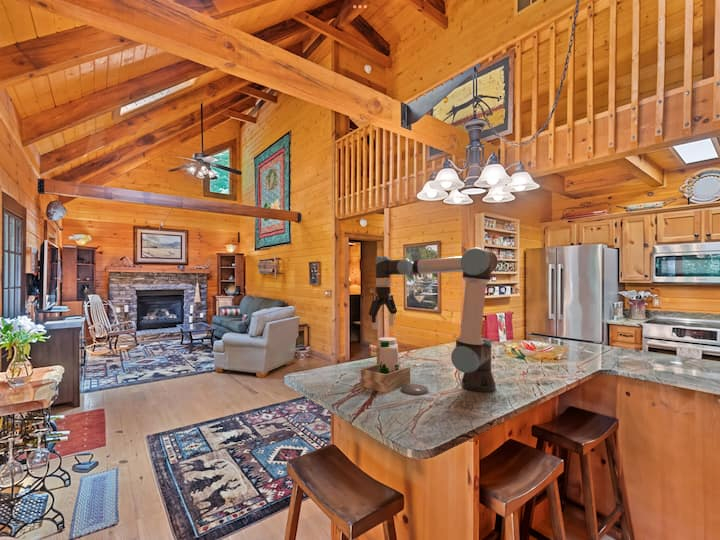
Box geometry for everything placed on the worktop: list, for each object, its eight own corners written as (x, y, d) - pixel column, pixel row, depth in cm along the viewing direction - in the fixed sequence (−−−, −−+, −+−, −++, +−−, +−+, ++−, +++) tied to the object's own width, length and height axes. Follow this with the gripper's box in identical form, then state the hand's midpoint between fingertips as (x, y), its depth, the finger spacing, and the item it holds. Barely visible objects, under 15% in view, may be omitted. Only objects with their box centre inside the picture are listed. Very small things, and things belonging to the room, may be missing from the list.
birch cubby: (410, 383, 170) (410, 366, 171) (386, 393, 156) (386, 375, 156) (385, 377, 180) (385, 361, 181) (360, 386, 166) (360, 369, 166)
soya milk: (381, 380, 175) (381, 340, 176) (399, 381, 174) (399, 340, 174) (378, 385, 167) (378, 343, 167) (397, 386, 165) (397, 344, 165)
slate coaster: (432, 389, 160) (432, 387, 160) (418, 396, 151) (418, 394, 151) (410, 384, 168) (410, 382, 168) (396, 390, 159) (396, 388, 159)
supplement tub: (384, 364, 206) (384, 336, 206) (402, 368, 199) (402, 338, 199) (372, 369, 196) (372, 339, 196) (391, 372, 189) (391, 341, 189)
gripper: (392, 285, 192) (392, 324, 191) (361, 286, 174) (361, 329, 173) (403, 285, 187) (403, 325, 186) (372, 287, 169) (373, 331, 168)
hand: (383, 327), depth 180 cm, fingers open, 13 cm apart
